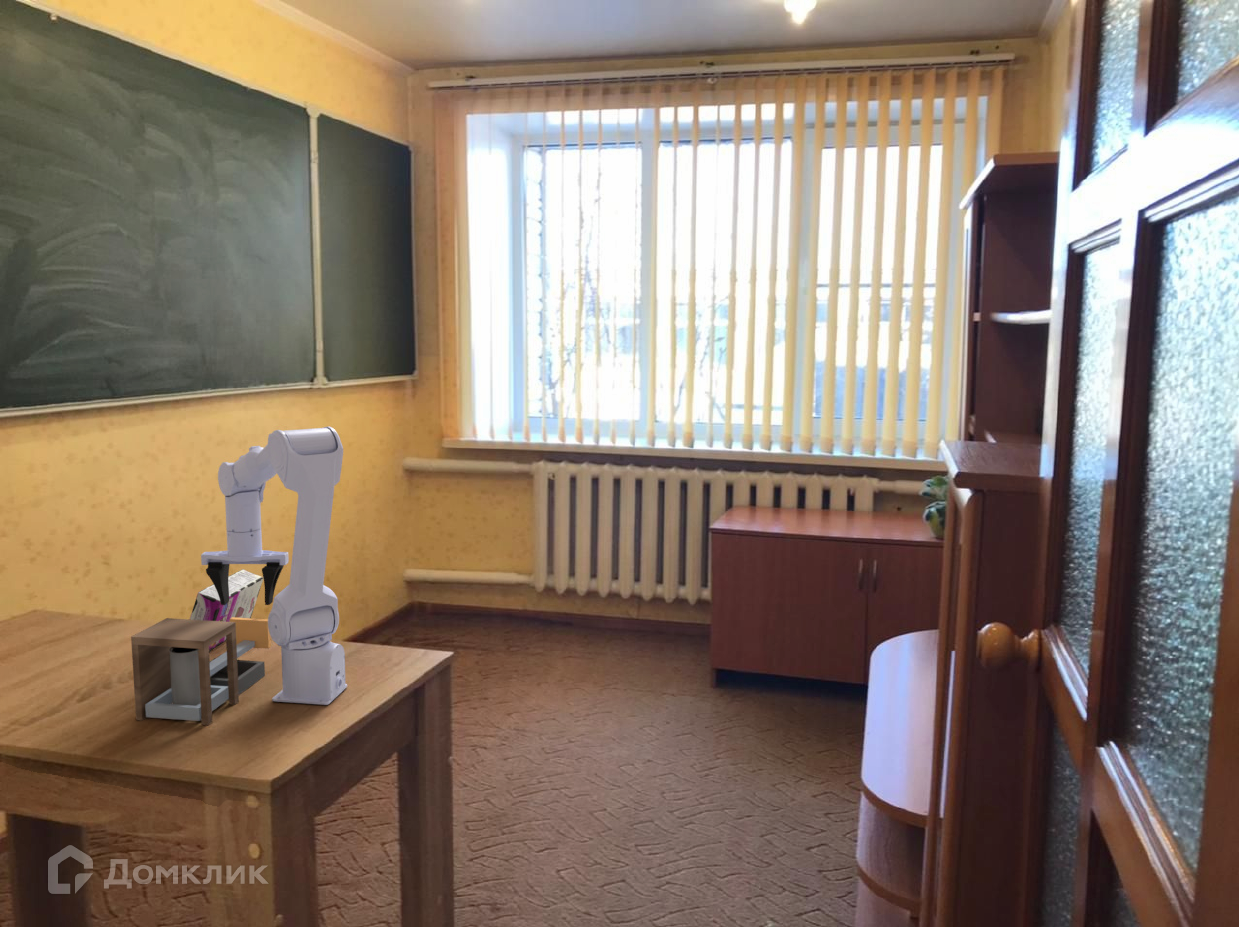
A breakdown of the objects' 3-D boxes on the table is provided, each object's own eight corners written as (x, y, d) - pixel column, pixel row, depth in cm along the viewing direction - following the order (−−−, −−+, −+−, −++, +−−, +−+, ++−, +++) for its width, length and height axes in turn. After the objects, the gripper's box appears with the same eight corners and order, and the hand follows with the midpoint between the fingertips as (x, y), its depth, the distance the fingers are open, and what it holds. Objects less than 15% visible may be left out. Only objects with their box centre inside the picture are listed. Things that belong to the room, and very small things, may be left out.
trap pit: (264, 675, 160) (264, 661, 160) (237, 695, 151) (237, 681, 151) (215, 672, 161) (214, 658, 161) (185, 692, 152) (184, 677, 152)
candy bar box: (178, 645, 169) (226, 618, 186) (203, 655, 169) (248, 627, 185) (196, 590, 168) (242, 567, 184) (221, 600, 167) (265, 577, 183)
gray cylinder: (170, 717, 143) (166, 653, 141) (175, 706, 147) (172, 643, 145) (202, 714, 144) (199, 651, 142) (206, 703, 148) (203, 641, 147)
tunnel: (238, 701, 149) (235, 622, 147) (208, 725, 140) (203, 641, 138) (171, 696, 150) (166, 618, 148) (136, 719, 142) (131, 636, 140)
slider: (276, 663, 165) (274, 619, 163) (199, 720, 141) (196, 670, 139) (230, 660, 165) (228, 616, 164) (146, 716, 142) (143, 666, 140)
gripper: (292, 524, 169) (294, 596, 171) (210, 523, 168) (213, 596, 170) (280, 533, 162) (283, 608, 164) (195, 532, 161) (198, 608, 163)
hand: (247, 603), depth 166 cm, fingers open, 7 cm apart
